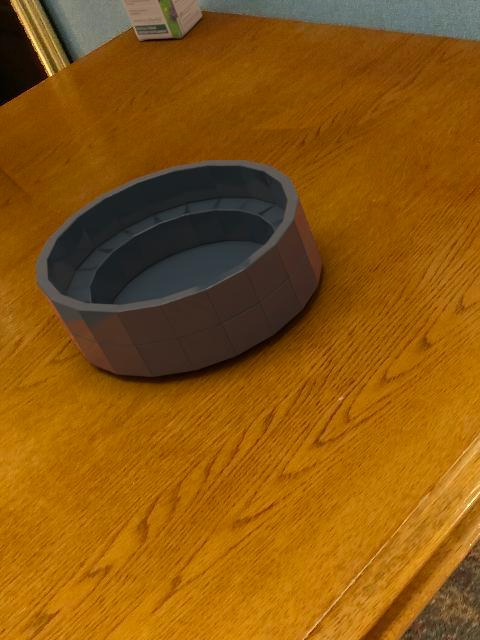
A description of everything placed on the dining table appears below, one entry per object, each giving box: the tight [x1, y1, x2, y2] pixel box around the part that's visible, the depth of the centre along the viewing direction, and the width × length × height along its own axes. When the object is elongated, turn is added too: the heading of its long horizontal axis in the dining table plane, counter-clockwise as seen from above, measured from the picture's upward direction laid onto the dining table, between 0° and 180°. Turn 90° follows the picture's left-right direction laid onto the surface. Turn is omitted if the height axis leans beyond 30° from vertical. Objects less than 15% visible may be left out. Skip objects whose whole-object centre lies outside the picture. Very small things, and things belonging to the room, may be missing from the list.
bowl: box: [35, 159, 323, 378], centre depth 72 cm, size 19×19×6 cm
